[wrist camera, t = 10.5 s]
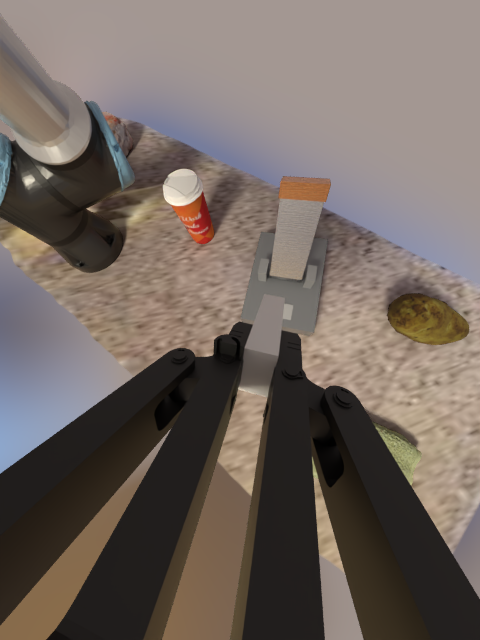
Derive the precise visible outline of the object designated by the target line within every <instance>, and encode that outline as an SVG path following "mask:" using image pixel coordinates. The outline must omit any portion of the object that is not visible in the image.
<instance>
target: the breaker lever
mask: <svg viewBox="0 0 480 640" xmlns="http://www.w3.org/2000/svg"><path fill="white" fill-rule="evenodd" d="M330 186H331V182H330V179H320V178H304V177H287V176H283V178H282V180H281V183H280V191H279V198H280V203H279V210H278V218H277V225H276V233H275V240H274V247H273V255H272V262H271V266H270V270H269V277H268V278H272V279H279V280H285V281H292V282H298V283H302V281H303V277H304V271H305V266H306V263H307V259H308V256H309V253H310V249H311V246H312V242H313V239H314V235H315V232H316V228H317V225H318V221H319V218H320V214H321V211H322V207H323V204H324V202H326V200H327V196H328V193H329V189H330Z"/></svg>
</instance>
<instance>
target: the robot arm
mask: <svg viewBox="0 0 480 640" xmlns="http://www.w3.org/2000/svg"><path fill="white" fill-rule="evenodd" d="M0 119H1V120H2V121H3V122H4V123H6V124H7V125H8V126H9V127H10V128H11V131H12V134H13V136H14V138H15V141H10V140H9V138H8V137H7V136H6V135H4V134H2V133H0V217H1V218H3V219H4V220H6V221H8V222H10V223H11V224H13V225H15V226H17V227H19V228H20V229H22V230H24V231H26V232H27V233H29V234H31V235H33V236H34V237H36V238H38V239H40V240H41V241H43V242H45V243H47V244H49V245H50V246H52V247H53V248H54V249H55V250H56V251H57V252H58V253H59V254H60V255H61V256H62V257H63V258H64V259H65V260H66V261H67V262H68V263H69V264H70V265H71V266H73V267H75V268H77V269H78V270H80V271H83V272H88V273H92V272H97V271H100V270H102V269H104V268H106V267H108V266H109V265H110V264H111V263H113V262H114V260H115V259H116V258H117V257H118V255H119V253H120V251H121V248H122V244H123V238H122V234H121V232H120V231H119V229H118V228H117V227H116V226H115V225H113V224H112V223H111V222H110V221H108V220H106V219H105V218H103V217H101V216H99V215H97V214H95V213H93V212H91V211H89V210H87V209H86V208H88V207H90V206H92V205H94V204H97V203H99V202H101V201H103V200H105V199H107V198H109V197H111V196H113V195H115V194H117V193H119V192H122V191H124V189H125V188H127V187H128V186H130V185H132V184H133V183H134V181H135V175H134V172H133V170H132V168H131V166H130V164H129V163H128V161H127V159H126V157H125V155H124V153H123V151H122V149H121V148H120V146H119V144H118V142H117V140H116V138H115V136H114V134H113V132H112V130H111V129H110V127H109V125H108V123H107V121H106V119H105V117H104V115H103V114H102V112H101V110H100V108H99V106H98V105H97V104H96V103H95V102H93V101H90V102H88V101H86V102H84V103H83V101H82V100H81V98H80V97H79V96H78V95H77V94H76V93H75V92H74V91H73V90H72V89H71V88H69V87H68V86H66V85H64V84H62V83H60V82H57V81H53V80H52V78H51V77H50V76H49V75H48V73H47V72H46V71H45V70H44V68H43V67H42V66H41V64H40V63H39V62H38V61H37V59H36V58H35V57H34V56H33V54H32V53H31V52H30V51H29V49H28V48H27V47H26V46H25V44H24V43H23V42H22V41H21V39H20V38H19V37H18V36H17V34H16V33H15V32H14V31H13V29H12V28H11V27H10V26H9V24H8V23H7V22H6V20H5V19H4V18H3V17H2V15H1V14H0ZM284 302H285V298H283V297H278V296H273V295H267V294H264V296H263V299H262V302H261V305H260V307H259V310H258V313H257V315H256V318H255V321H254V324H248V323H243V322H238V323H236V324H235V325H234V326H233V328H232V330H231V331H230V333H229V334H226V335H221V336H218V337H217V338H216V339H215V340H214V355H213V356H209V357H195V355H194V353H193V352H192V351H191V350H189V349H186V348H178V349H174V350H172V351H170V352H168V353H167V354H165V355H164V356H162V357H161V358H160V359H158V360H157V361H155V362H154V363H153V364H151V365H150V366H149V367H147V368H146V369H144V370H143V371H142V372H140V373H139V374H137V375H136V376H135V377H133V378H132V379H131V380H130V381H128V382H127V383H125V384H124V385H122V386H121V387H119V388H118V389H117V390H115V391H114V392H113V393H112V394H110V395H108V396H107V397H106V398H104V399H103V400H102V401H100V402H99V403H97V404H96V405H95V406H93V407H92V408H90V409H89V410H88V411H86V412H85V413H84V414H82V415H81V416H79V417H78V418H77V419H75V420H74V421H73V422H71V423H70V424H68V425H67V426H66V427H64V428H63V429H61V430H60V431H59V432H57V433H56V434H54V435H53V436H52V437H50V438H49V439H48V440H46V441H45V442H44V443H42V444H41V445H39V446H38V447H37V448H35V449H34V450H32V451H31V452H30V453H28V454H27V455H25V456H24V457H23V458H21V459H20V460H19V461H17V462H16V463H14V464H13V465H12V466H10V467H9V468H8V469H6V470H5V471H3V472H2V473H1V474H0V625H1V624H2V623H3V622H4V621H5V619H6V618H7V617H8V616H9V615H10V614H11V613H12V611H13V610H14V609H15V608H16V607H17V606H18V604H19V603H20V602H21V601H22V600H23V598H25V596H26V595H27V594H28V593H29V592H30V591H31V589H32V588H33V587H34V586H35V585H36V584H37V582H38V581H39V580H40V579H41V578H42V577H43V575H44V574H45V573H46V572H47V571H48V570H49V569H50V567H51V566H52V565H53V564H54V563H55V562H56V561H57V559H58V558H59V557H60V556H61V555H62V553H63V552H64V551H65V550H66V549H67V548H68V547H69V546H70V544H71V543H72V542H73V541H74V540H75V539H76V537H77V536H78V535H79V534H80V533H81V532H82V531H83V529H84V528H85V527H86V526H87V525H88V524H89V522H90V521H91V520H92V519H93V518H94V517H95V515H96V514H97V513H98V512H99V511H100V510H101V508H102V507H103V506H104V505H105V504H106V503H107V502H108V501H109V499H110V498H111V497H112V496H113V495H114V493H115V492H116V491H117V490H118V489H119V488H120V487H121V486H122V484H123V483H124V482H125V481H126V480H127V478H128V477H129V476H130V475H131V474H132V473H133V472H134V470H135V469H136V468H137V467H138V466H139V465H140V464H141V462H142V461H143V460H144V459H145V458H146V457H147V456H148V454H149V453H150V452H151V451H152V450H153V449H154V447H155V446H156V445H157V444H158V443H159V442H160V440H161V439H162V438H163V437H164V436H165V435H166V434H167V432H168V431H169V430H170V429H171V428H172V429H171V431H170V432H169V434H168V436H167V438H166V440H165V441H164V443H163V445H162V446H161V448H160V450H159V452H158V454H157V455H156V457H155V459H154V461H153V462H152V464H151V466H150V468H149V469H148V471H147V473H146V475H145V476H144V478H143V480H142V482H141V484H140V485H139V487H138V489H137V491H136V492H135V494H134V496H133V498H132V500H131V501H130V503H129V505H128V507H127V508H126V510H125V512H124V514H123V515H122V517H121V519H120V521H119V522H118V524H117V526H116V528H115V530H114V531H113V533H112V535H111V537H110V539H109V540H108V542H107V544H106V545H105V547H104V549H103V551H102V552H101V554H100V556H99V558H98V560H97V561H96V563H95V565H94V567H93V568H92V570H91V572H90V574H89V576H88V577H87V579H86V581H85V583H84V584H83V586H82V588H81V590H80V591H79V593H78V595H77V597H76V599H75V600H74V602H73V604H72V605H71V607H70V609H69V610H68V612H67V613H66V615H65V617H64V618H63V620H62V621H61V622H60V624H59V625H58V627H57V628H56V629H55V631H54V632H53V633H52V634H51V635H50V636H49V637H48V638H47V639H46V640H162V637H163V634H164V630H165V627H166V624H167V621H168V618H169V615H170V611H171V608H172V605H173V602H174V598H175V595H176V592H177V589H178V585H179V582H180V579H181V576H182V572H183V569H184V566H185V563H186V559H187V556H188V553H189V550H190V547H191V543H192V540H193V537H194V533H195V531H196V527H197V524H198V521H199V518H200V514H201V511H202V508H203V505H204V501H205V498H206V495H207V492H208V488H209V485H210V482H211V479H212V476H213V472H214V469H215V466H216V463H217V459H218V456H219V453H220V450H221V446H222V443H223V440H224V437H225V433H226V430H227V427H228V424H229V421H230V417H231V414H232V411H233V408H234V404H235V401H236V397H237V391H238V388H239V390H242V391H246V392H249V393H253V394H256V395H260V396H264V397H268V399H267V403H266V407H265V410H264V414H263V417H264V419H263V426H262V433H261V439H260V446H259V452H258V459H257V465H256V472H255V478H254V485H253V491H252V498H251V505H250V511H249V518H248V525H247V531H246V537H245V544H244V550H243V558H242V564H241V571H240V577H239V583H238V590H237V596H236V603H235V610H234V616H233V622H232V630H231V636H230V640H325V636H324V622H323V607H322V593H321V579H320V564H319V550H318V535H317V521H316V507H315V492H314V478H313V463H312V457H313V461H314V465H315V468H316V472H317V475H318V479H319V482H320V486H321V489H322V493H323V496H324V500H325V504H326V507H327V511H328V514H329V518H330V521H331V525H332V528H333V532H334V536H335V539H336V543H337V546H338V550H339V553H340V557H341V560H342V564H343V568H344V571H345V575H346V578H347V582H348V585H349V589H350V592H351V596H352V599H353V603H354V607H355V610H356V613H357V617H358V621H359V624H360V628H361V631H362V635H363V638H364V640H480V599H479V597H478V596H477V594H476V592H475V591H474V589H473V587H472V586H471V584H470V583H469V581H468V579H467V577H466V576H465V574H464V573H463V571H462V569H461V568H460V566H459V564H458V563H457V561H456V559H455V558H454V556H453V554H452V553H451V551H450V549H449V548H448V546H447V544H446V543H445V541H444V539H443V538H442V536H441V535H440V533H439V531H438V530H437V528H436V526H435V525H434V523H433V521H432V520H431V518H430V516H429V515H428V513H427V511H426V510H425V508H424V506H423V505H422V503H421V502H420V500H419V498H418V497H417V495H416V493H415V492H414V490H413V488H412V487H411V485H410V483H409V482H408V480H407V478H406V477H405V475H404V473H403V472H402V470H401V469H400V467H399V465H398V464H397V462H396V460H395V459H394V457H393V455H392V454H391V452H390V450H389V449H388V447H387V445H386V444H385V442H384V440H383V439H382V437H381V435H380V434H379V432H378V431H377V429H376V427H375V426H374V424H373V422H372V421H371V419H370V417H369V416H368V414H367V412H366V411H365V409H364V407H363V406H362V404H361V402H360V401H359V400H358V398H357V397H356V396H355V395H354V394H353V393H352V392H350V391H349V390H347V389H345V388H343V387H340V386H329V387H328V388H326V390H325V389H323V388H321V387H319V386H317V385H316V384H314V383H312V382H311V381H310V380H308V379H307V377H306V374H305V372H304V371H303V370H302V354H301V339H300V337H299V336H298V334H297V333H292V332H288V331H283V330H282V321H283V312H284Z"/></svg>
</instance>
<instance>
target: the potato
mask: <svg viewBox="0 0 480 640" xmlns="http://www.w3.org/2000/svg"><path fill="white" fill-rule="evenodd" d="M387 316H388V320H389V322H390V324H391V325H392V327H393V328H394V329H395V330H396V331H397V332H398V333H401V334H403V335H405V336H407V337H408V338H410V339H412V340H414V341H416V342H419V343H424V344H431V345H442V344H447V343H451V342H455V341H458V340H461V339H463V338H464V337H466V336H467V335H468V333H469V325H468V323H467V321H466V320H465V319H464V318H463V317H462V316H461V315H460V314H458V313H457V312H456V311H454V310H453V309H451V308H450V307H449V306H448V305H447V304H446V303H445V302H443V301H440V300H438V299H435V298H430V297H428V296H425V295H422V294H420V293H418V294H417V293H412V294H405V295H402V296H400V297H398V298H397V299H396V300H394V301H393V302H392V303H391V304H390V305H389V308H388V314H387Z"/></svg>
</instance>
